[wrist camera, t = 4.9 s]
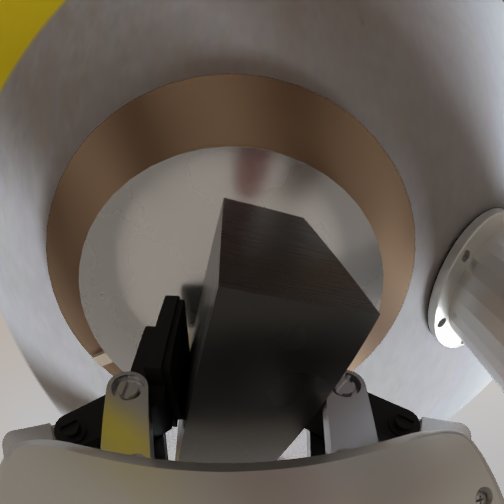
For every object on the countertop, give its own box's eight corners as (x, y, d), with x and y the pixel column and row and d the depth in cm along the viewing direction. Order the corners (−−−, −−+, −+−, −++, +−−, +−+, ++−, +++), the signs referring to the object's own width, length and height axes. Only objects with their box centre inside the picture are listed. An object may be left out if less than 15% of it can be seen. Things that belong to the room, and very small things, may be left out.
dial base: (311, 24, 10) (326, 8, 8) (417, 315, 18) (433, 333, 16) (15, 221, 13) (-6, 234, 10) (189, 416, 20) (188, 438, 18)
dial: (107, 117, 9) (-31, 120, 2) (411, 201, 12) (529, 270, 5) (97, 365, 14) (61, 464, 8) (309, 400, 17) (334, 493, 10)
